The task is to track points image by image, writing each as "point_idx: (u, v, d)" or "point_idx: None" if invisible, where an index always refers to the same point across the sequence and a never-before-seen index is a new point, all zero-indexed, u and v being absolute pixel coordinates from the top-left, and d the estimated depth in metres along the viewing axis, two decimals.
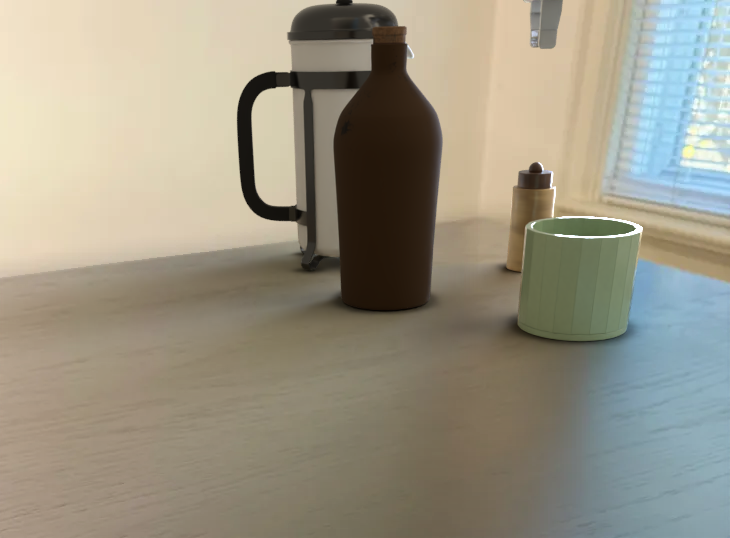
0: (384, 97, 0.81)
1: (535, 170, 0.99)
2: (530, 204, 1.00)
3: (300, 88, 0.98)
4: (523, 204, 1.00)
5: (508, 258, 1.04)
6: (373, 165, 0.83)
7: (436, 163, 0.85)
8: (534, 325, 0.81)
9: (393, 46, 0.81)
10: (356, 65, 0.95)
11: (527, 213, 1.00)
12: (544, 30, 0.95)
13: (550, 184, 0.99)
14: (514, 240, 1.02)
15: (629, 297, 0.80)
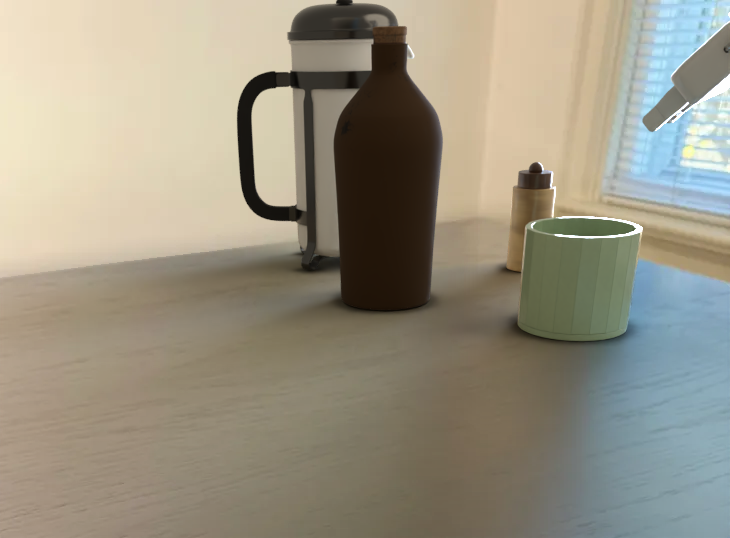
0: (384, 97, 0.81)
1: (535, 170, 0.99)
2: (530, 204, 1.00)
3: (300, 88, 0.98)
4: (523, 204, 1.00)
5: (508, 258, 1.04)
6: (373, 165, 0.83)
7: (436, 163, 0.85)
8: (534, 325, 0.81)
9: (393, 46, 0.81)
10: (356, 65, 0.95)
11: (527, 213, 1.00)
12: (657, 110, 0.87)
13: (550, 184, 0.99)
14: (514, 240, 1.02)
15: (629, 297, 0.80)
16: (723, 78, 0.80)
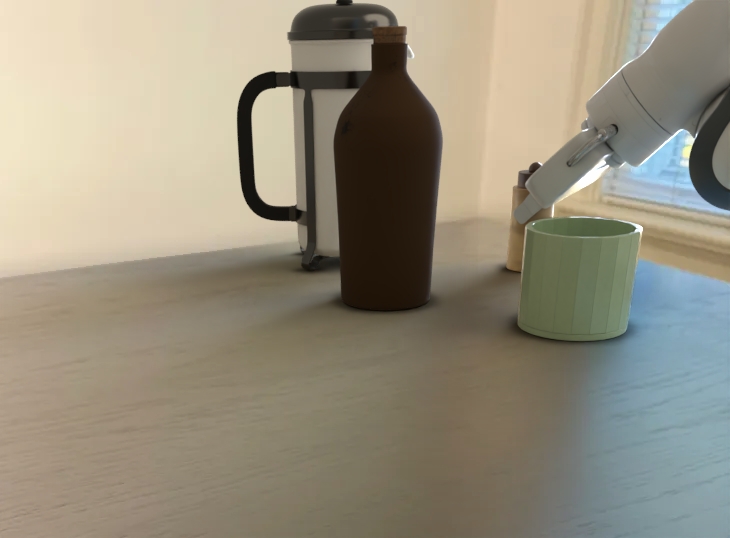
0: (384, 97, 0.81)
1: (535, 170, 0.99)
2: None
3: (300, 88, 0.98)
4: None
5: (508, 258, 1.04)
6: (373, 165, 0.83)
7: (436, 163, 0.85)
8: (534, 325, 0.81)
9: (393, 46, 0.81)
10: (356, 65, 0.95)
11: None
12: (525, 205, 0.98)
13: None
14: (514, 240, 1.02)
15: (629, 297, 0.80)
16: (568, 187, 0.90)
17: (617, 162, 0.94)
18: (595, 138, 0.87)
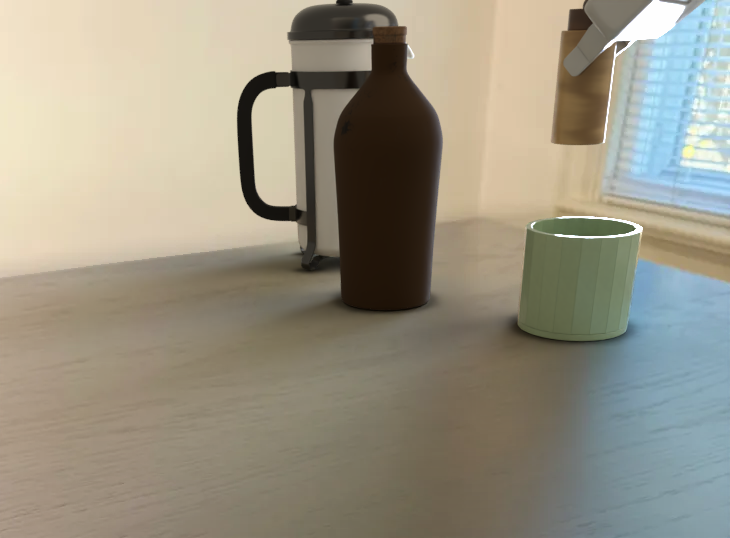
0: (384, 97, 0.81)
1: None
2: None
3: (300, 88, 0.98)
4: None
5: (554, 129, 0.81)
6: (373, 165, 0.83)
7: (436, 163, 0.85)
8: (534, 325, 0.81)
9: (393, 46, 0.81)
10: (356, 65, 0.95)
11: None
12: (579, 50, 0.75)
13: None
14: (562, 102, 0.79)
15: (629, 297, 0.80)
16: (644, 6, 0.67)
17: None
18: None
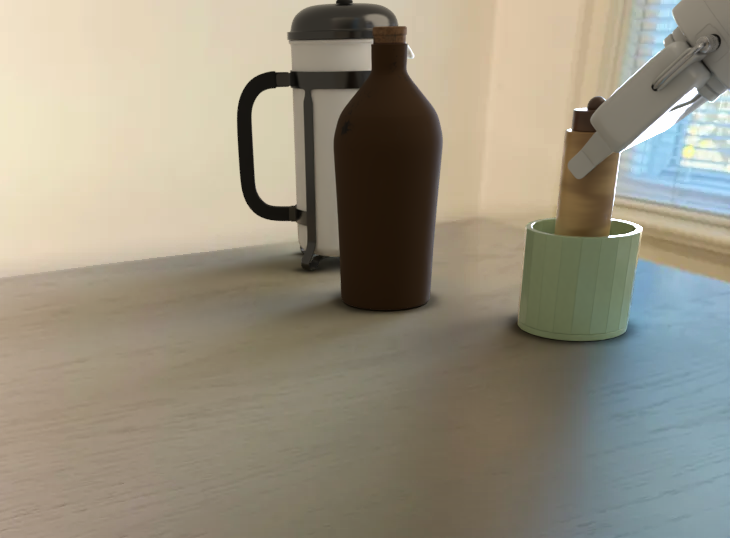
0: (384, 97, 0.81)
1: (597, 106, 0.74)
2: None
3: (300, 88, 0.98)
4: None
5: (557, 226, 0.79)
6: (373, 165, 0.83)
7: (436, 163, 0.85)
8: (534, 325, 0.81)
9: (393, 46, 0.81)
10: (356, 65, 0.95)
11: None
12: (584, 153, 0.73)
13: None
14: (566, 201, 0.77)
15: (629, 297, 0.80)
16: (652, 121, 0.65)
17: (714, 91, 0.69)
18: (695, 48, 0.62)
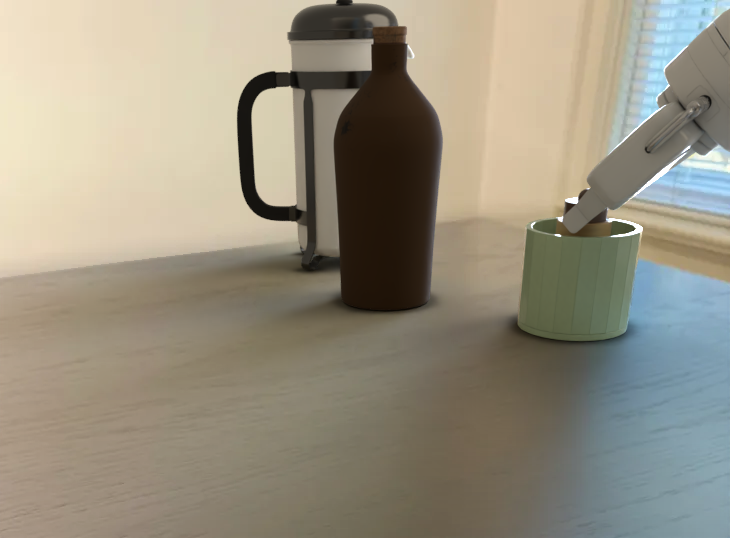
0: (384, 97, 0.81)
1: None
2: None
3: (300, 88, 0.98)
4: None
5: None
6: (373, 165, 0.83)
7: (436, 163, 0.85)
8: (534, 325, 0.81)
9: (393, 46, 0.81)
10: (356, 65, 0.95)
11: None
12: (578, 209, 0.75)
13: (605, 216, 0.78)
14: None
15: (629, 297, 0.80)
16: (646, 182, 0.67)
17: (706, 147, 0.71)
18: (686, 114, 0.64)
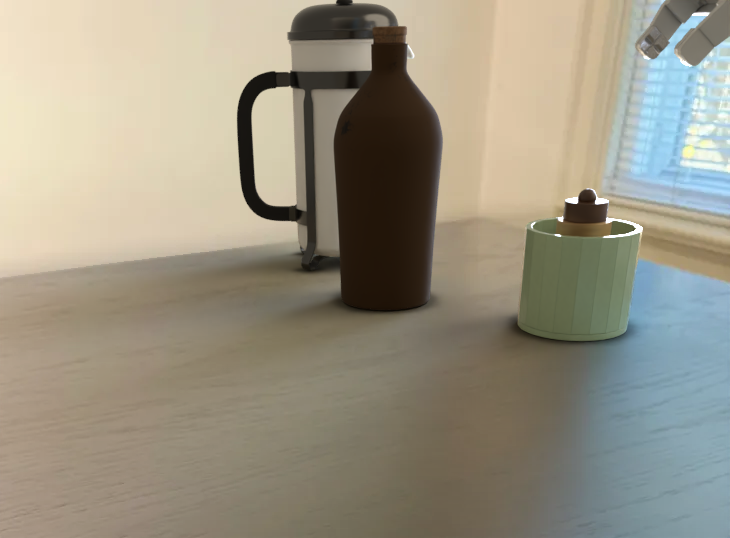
0: (384, 97, 0.81)
1: (587, 199, 0.78)
2: None
3: (300, 88, 0.98)
4: None
5: None
6: (373, 165, 0.83)
7: (436, 163, 0.85)
8: (534, 325, 0.81)
9: (393, 46, 0.81)
10: (356, 65, 0.95)
11: None
12: (702, 33, 0.61)
13: (605, 216, 0.78)
14: None
15: (629, 297, 0.80)
16: None
17: None
18: None
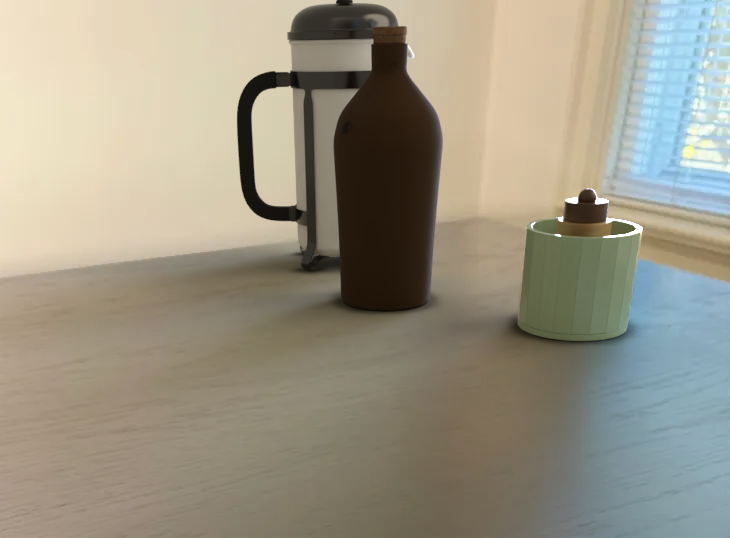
0: (384, 97, 0.81)
1: (587, 199, 0.78)
2: None
3: (300, 88, 0.98)
4: None
5: None
6: (373, 165, 0.83)
7: (436, 163, 0.85)
8: (534, 325, 0.81)
9: (393, 46, 0.81)
10: (356, 65, 0.95)
11: None
12: None
13: (605, 216, 0.78)
14: None
15: (629, 297, 0.80)
16: None
17: None
18: None
